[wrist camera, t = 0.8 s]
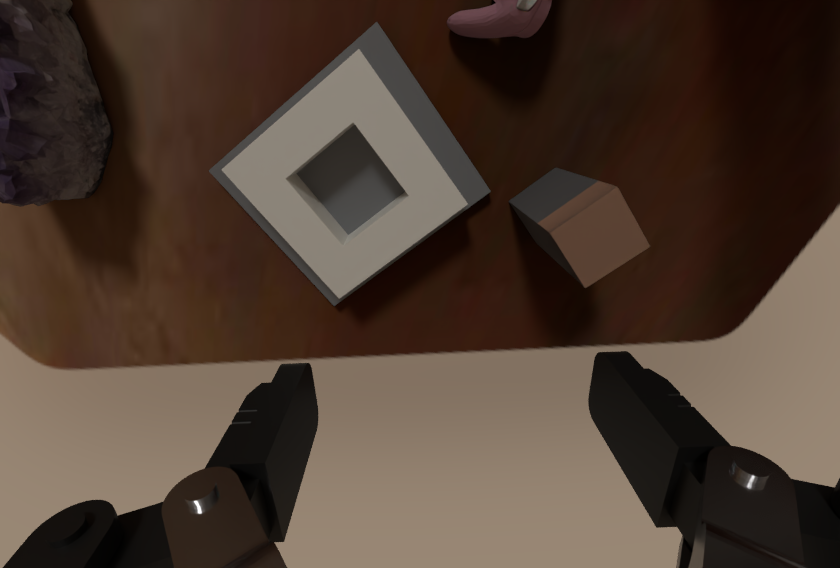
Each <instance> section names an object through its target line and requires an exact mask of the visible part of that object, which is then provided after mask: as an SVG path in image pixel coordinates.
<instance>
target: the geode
mask: <svg viewBox="0 0 840 568" xmlns="http://www.w3.org/2000/svg"><path fill="white" fill-rule="evenodd" d="M72 5H73V3H72V1H71V0H0V202H2V203H9V204H12V205H16V206H20V207H21V206H24V205H28V204H33V203H34V204H35V205H37V206H40V205H43V204H46V203H49V202H50V201H53V200H61V199H64V200H70V199H79V198H88V197H90V196H91V195H92V194H93V193H94V192H95V191H96V189H97V188H98V186H99V185H100V183H101V181H102V177H103V173H104V170H105V166H106V162H107V158H108V155H109V152H110V149H111V147H112V140H113V131H112V127H111V124H110V122H109V119H108V117H107V114H106V112H105V109H104V104H103V101H102V98H101V95H100V92H99V89H98V86H97V84H96V81H95V78H94V76H93V73H92V70H91V67H90V64H89V62H88V59H87V49H86V47H85V45H84V43H83V40H82V38H81V35H80V32H79V29H78V26H77V24H76V23H75V21H74V20H73V19H72V17H71V16H70V14H69V13H68V11H69V10H70V9H71V7H72Z"/></svg>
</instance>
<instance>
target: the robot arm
mask: <svg viewBox="0 0 840 568" xmlns="http://www.w3.org/2000/svg"><path fill="white" fill-rule="evenodd" d="M589 410H590V414H591V417H592V419H593V421H594V423H595V425H596V426H597V428H598V430H599V432H600V433H601V435H602V437H603V438H604V440H605V441H606V443H607V445H608V446H609V448H610V450H611V452H612V453H613V455H614V457H615V458H616V460H617V462H618V463H619V465H620V467H621V469H622V470H623V472H624V474H625V475H626V477H627V479H628V480H629V482H630V484H631V485H632V487H633V489H634V490H635V492H636V494H637V495H638V497H639V499H640V501H641V502H642V504H643V506H644V507H645V509H646V510H647V512H648V513H649V516H650V517H651V519H652V521H653V522H654V524H655V526H656V527H678V529H679V530H680V532H681V533H682V535H683V536H682V539H681V542H680V546H679V552H678V559H677V566H676V568H840V479H839V481H838V483H837V485H836V487H835V488H834V487H829V486H824V485H818V484H814V483H809V482H803V481H799V480H794V479H791V478H790V477H789V476H788V474H786V472H785V471H784V470H782V468H780V467H779V466H778V465H777V464H775V463H774V462H772V461H771V460H769V459H768V458H766V457H764V456H762V455H760V454H757V453H756V452H753V451H750V450H747V449H744V448H741V447H736V446H731V445H730V444H729V443H728V442H727V441H726V440H725V439H724V438H723V437H722V436H721V435H720V434H719V433H718V432H717V431H716V430H715V429H714V428H713V427H712V425H711V424H710V423H709V422H707V420H706V419H705V418H704V417H703V416H702V415H701V414H700V413H699V412H698V411H697V410H696V409H695V408H694V407H691V404H690V403H689V402H688V401H687V400H686V399H685V397H684V396H681V395H680V392H679V391H678V390H677V389H676V388H675V387H674V386H673V385H672V384H671V383H670V382H669V381H668V380H667V379H665V378H664V377H662V376H660V375H659V374H657V373H655V372H654V371H652V370H650V369H644V368H643V367H642V366H641V365H640V364H639V363H638V362H637V361H636V360H635V359H634V357H633V356H632V355H631V354H630V353H628V352H626V351H621V352H599V353H597V355H596V357H595V360H594V366H593V373H592V379H591V386H590V392H589ZM317 426H318V406H317V399H316V394H315V387H314V380H313V375H312V368H311V365H310V364H309V363H298V364H297V363H296V364H282V365H280V367H279V369H278V371H277V373H276V374H275V377H274V378H273V380H272V382H271V383H261V384H260V385H259V386H257V387H256V388H255V389H254V390H253V391H252V392H250V393H249V394H248V395H247V396H246V398H245V400H244V401H243V403H242V405H241V407H240V408H239V412H238V413H236V415H235V417H234V419H233V420H232V424H231V425H230V426H229V427H228V429H227V431H226V432H225V434H224V436H223V438H222V439H221V441H220V443H219V445H218V446H217V448H216V450H215V452H214V453H213V455H212V457H211V458H210V460H209V462H208V464H207V465H206V467H205V469H202V470H199V471H197V472H195V473H193V474H191V475H189V476H187V477H186V478H184V479H183V480H181V481H180V482H179V483H178V484H176V485H175V487H173V489H172V490H171V491H170V492H169V493H168V495H167V496H166V498H165V500H164V502H161V503H158V504H155V505H152V506H148V507H145V508H142V509H138V510H135V511H132V512H128V513H125V514H122V515H119V516H117V514H116V511H115V509H114V507H113V506H112V504H110V503H109V502H107V501H104V500H90V501H85V502H82V503H78V504H75V505H73V506H70V507H68V508H66V509H64V510H62V511H61V512H59V513H57V514H55V515H54V516H52V517H51V518H49V519H48V520H46V521H45V522H44V523H42V524H41V525H40V526H39V527H38V528H37V529H36V530H35V531H34V532H33V533H32V534H31V535H30V536H29V537H28V538H27V539H26V540H25V542H24V543H23V544H22V545H21V546H20V548H19V549H18V550H17V551H16V552H15V554H14V555H13V556H12V557H11V558H10V560H9V561H8V562H7V563H6V564H5V566H4V567H3V568H287V567H286V565H285V563H284V560H283V558H282V556H281V554H280V552H279V550H278V548H277V547H276V545H275V543H274V542H284V540H285V536H286V533H287V529H288V526H289V523H290V519H291V516H292V512H293V509H294V506H295V502H296V499H297V495H298V492H299V489H300V485H301V482H302V479H303V475H304V472H305V468H306V465H307V462H308V458H309V455H310V451H311V448H312V445H313V441H314V438H315V434H316V431H317Z"/></svg>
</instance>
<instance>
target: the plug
mask: <svg viewBox="0 0 840 568" xmlns="http://www.w3.org/2000/svg"><path fill="white" fill-rule="evenodd" d="M509 203H510V204H511V206H512V207H513V209H514V210H515V212H516V213H517V215H518V216H519V218H520V219H521V221H522V222H523V224H524V225H525V227H526V228H527V230H528V231H529V233H530V234H531V236H532V238H533V239H534V241H535V242H536V243H537V244H538V245H539V246H540V247H541V248H542V249H543V250H544V251H545V252H546V253H548V254H549V255H550V256H551V257H552V258H553V259H554V260H555V261H556V262H557V263H558V264H559V265H561V266H562V267H563V268H564V269H565V270H566V271H567V272H568V273H569V274H570V275H571V276H572V277H574V278H575V279H576V280H577V281H578V282H579V283H580V284H581V285H582V286H583V287H584V288H586V287H588V286H590V285H591V284H593V283H594V282H596V281H597V280H599V279H600V278H602V277H604V276H605V275H607V274H608V273H610V272H611V271H613V270H614V269H616V268H618V267H619V266H621V265H622V264H624V263H625V262H627V261H628V260H630V259H632V258H633V257H635V256H636V255H638V254H639V253H641V252H642V251H644V250H646V249H647V248H649V247H650V245H649V244H648V242H647V240H646V238H645V236H644V235H643V233H642V231H641V229H640V227H639V225H638V224H637V222H636V220H635V218H634V216H633V214H632V213H631V211H630V209H629V207H628V205H627V203H626V202H625V200H624V198H623V196H622V194H621V192H620V191H619V189H618V187H617V186H613V185H610V184H607V183H604V182H601V181H597V180H594V179H591V178H588V177H584V176H581V175H578V174H575V173H572V172H568V171H565V170H562V169H559V168H554V169H553V170H551V171H550V172H549V173H547V174H546V175H544V176H543V177H542V178H540V179H539V180H538V181H536V182H535V183H533V184H532V185H531V186H529V187H528V188H526V189H525V190H524V191H522V192H521V193H519V194H518V195H517V196H515V197H514V198H513V199H511V200H510V201H509Z"/></svg>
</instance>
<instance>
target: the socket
mask: <svg viewBox="0 0 840 568" xmlns="http://www.w3.org/2000/svg"><path fill="white" fill-rule="evenodd" d="M209 172H210V173H211V174H212V175H213V176H214V177H215V178H216V179H217V180H218V181H219V183H220V184H221V185H222V186H223V187H224V188H225V189H226V190H227V191H228V192H229V193H230V194H231V195H232V197H233V198H234V199H235V200H236V201H237V202H238V203H239V204H240V205H241V206H242V207H243V208H244V210H245V211H246V212H247V213H248V214H249V215H250V216H251V217H252V218H253V219H254V220H255V221H256V222H257V224H258V225H259V226H260V227H261V228H262V229H263V230H264V231H265V232H266V233H267V234H268V235H269V236H270V238H271V239H272V240H273V241H274V242H275V243H276V244H277V245H278V246H279V247H280V248H281V249H282V250H283V252H284V253H285V254H286V255H287V256H288V257H289V258H290V259H291V260H292V261H293V262H294V263H295V265H296V266H297V267H298V268H299V269H300V270H301V271H302V272H303V273H304V274H305V275H306V276H307V277H308V279H309V280H310V281H311V282H312V283H313V284H314V285H315V286H316V287H317V288H318V289H319V290H320V291H321V293H322V294H323V295H324V296H325V297H326V298H327V299H328V300H329V301H330V302H331V303H332V304H333V306H335V305H336V304H338V303H339V302H341V301H342V300H343V299H345V298H346V297H347V296H349V295H350V294H351V293H353V292H354V291H356V290H357V289H358V288H360V287H361V286H362V285H364V284H365V283H366V282H368V281H369V280H371V279H372V278H373V277H375V276H376V275H377V274H379V273H380V272H381V271H383V270H384V269H386V268H387V267H388V266H390V265H391V264H392V263H394V262H395V261H397V260H398V259H399V258H401V257H402V256H403V255H405V254H406V253H407V252H409V251H410V250H412V249H413V248H414V247H416V246H417V245H418V244H420V243H421V242H422V241H424V240H425V239H427V238H428V237H429V236H431V235H432V234H433V233H435V232H436V231H438V230H439V229H440V228H442V227H443V226H444V225H446V224H447V223H448V222H450V221H451V220H453V219H454V218H455V217H457V216H458V215H459V214H461V213H462V212H463V211H465V210H466V209H468V208H469V207H470V206H472V205H473V204H474V203H476V202H477V201H479V200H480V199H481V198H483V197H484V196H485V195H487V194H488V193H489V192H491V191H490V189H489V188H488V186H487V185H486V184H485V182H484V181H483V179H482V178H481V176H480V175H479V173H478V172H477V170H476V169H475V167H474V166H473V164H472V163H471V161H470V160H469V158H468V157H467V155H466V154H465V152H464V151H463V149H462V148H461V146H460V145H459V143H458V142H457V140H456V139H455V137H454V136H453V134H452V133H451V131H450V130H449V128H448V127H447V125H446V124H445V122H444V121H443V119H442V118H441V116H440V115H439V114H438V112H437V111H436V109H435V108H434V106H433V105H432V103H431V102H430V100H429V99H428V97H427V96H426V94H425V93H424V91H423V90H422V88H421V87H420V85H419V84H418V82H417V81H416V79H415V78H414V76H413V75H412V73H411V72H410V70H409V69H408V67H407V66H406V64H405V63H404V61H403V60H402V58H401V57H400V55H399V54H398V52H397V51H396V49H395V48H394V46H393V45H392V44H391V42H390V41H389V39H388V38H387V36H386V35H385V33H384V32H383V30H382V29H381V27H380V26H379V24H378V23H377V22H376V23H375V24H374V25H373V26H372V27H370V28H369V29H368V30H367V31H366V32H365V33H364V34H363V35H361V36H360V37H359V38H358V39H357V40H356V41H355V42H353V43H352V44H351V45H350V46H349V47H348V48H347V49H346V50H344V51H343V52H342V53H341V54H340V55H339V56H338V57H337V58H335V59H334V60H333V61H332V62H331V63H330V64H329V65H328V66H326V67H325V68H324V69H323V70H322V71H321V72H320V73H318V74H317V75H316V76H315V77H314V78H313V79H312V80H311V81H309V82H308V83H307V84H306V85H305V86H304V87H303V88H302V89H300V90H299V91H298V92H297V93H296V94H295V95H294V96H293V97H291V98H290V99H289V100H288V101H287V102H286V103H285V104H283V105H282V106H281V107H280V108H279V109H278V110H277V111H276V112H274V113H273V114H272V115H271V116H270V117H269V118H268V119H267V120H265V121H264V122H263V123H262V124H261V125H260V126H259V127H258V128H256V129H255V130H254V131H253V132H252V133H251V134H250V135H248V136H247V137H246V138H245V139H244V140H243V141H242V142H241V143H239V144H238V145H237V146H236V147H235V148H234V149H233V150H232V151H230V152H229V153H228V154H227V155H226V156H225V157H224V158H223V159H221V160H220V161H219V162H218V163H217V164H216V165H215V166H213V167H212V168H211V169H210V170H209Z"/></svg>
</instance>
